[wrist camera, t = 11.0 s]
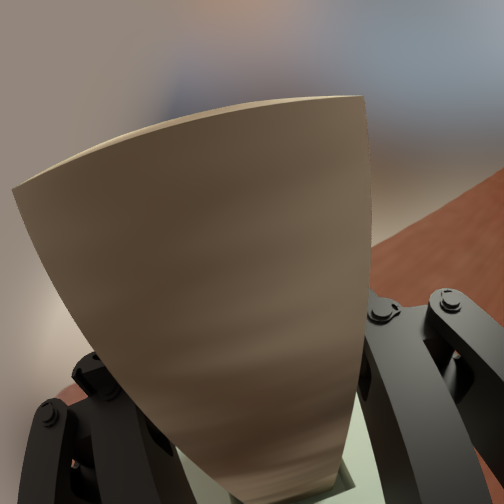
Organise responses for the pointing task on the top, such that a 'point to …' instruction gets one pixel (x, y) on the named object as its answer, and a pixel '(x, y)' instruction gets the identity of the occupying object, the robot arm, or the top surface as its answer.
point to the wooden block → (224, 280)
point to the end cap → (336, 500)
